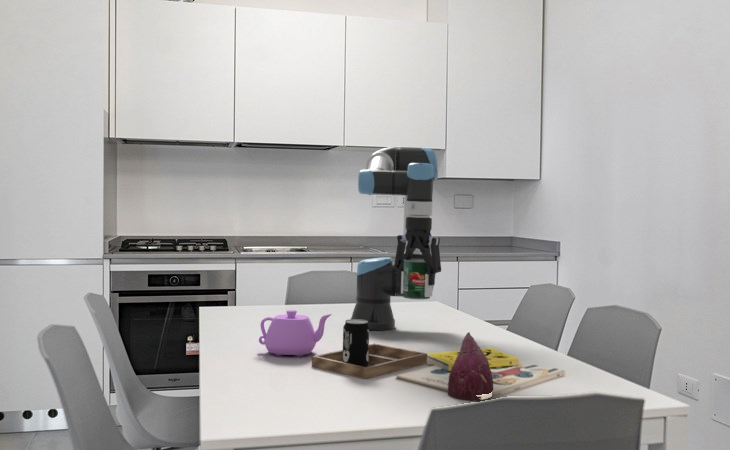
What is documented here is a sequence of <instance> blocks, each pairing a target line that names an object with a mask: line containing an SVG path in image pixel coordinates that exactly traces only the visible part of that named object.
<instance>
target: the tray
mask: <svg viewBox="0 0 730 450" xmlns="http://www.w3.org/2000/svg"><path fill="white" fill-rule="evenodd" d="M375 354H377V355H375ZM380 355H381V356H380ZM342 356H343V349H341V350H337V351H331V352H326V353H321V354H316V355H311V367H314V368H319V369H322V370H327V371H330V372H334V373H339V374H343V375H348V376H351V377H356V378H360V379H364V380H368V379H370V378H371V379H372V378H374V377H379V376H383V375H385V374H390V373H394V372H397V371H403V370H405V369H409V368H413V367H418V366H421V365H426V364H428V353H425V352H420V351H416V350H410V349H405V348H400V347H394V346H390V345H384V344H380V343H371V344H370V343H369V358H368V367H363V366H358V365H354V364H349V363H345V362H342ZM389 357H391V358H389Z"/></svg>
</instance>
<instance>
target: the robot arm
mask: <svg viewBox="0 0 730 450" xmlns="http://www.w3.org/2000/svg"><path fill="white" fill-rule="evenodd" d="M436 154H437V153H436V152H435V150H434V149H433V148H430V147H423V146H421V147H409V146H408V147H405V146H404V147H403V146H400V147H399V146H390V147H384V148H381V149H379V150H376V151H374V152H373V153H372V154H370V155H369V156H368V158H367V160H366V164H365V168H366V169H361V170H359V172H358V180H357V182H358V183H357V184H358V185H357V188H358V193H359V194H360V195H368V196H371V195H376V196H377V195H378V196H379V195H381V196H382V195H383V196H403V197H404V198H403V199H404V203H403V205H404V206H403V234H398V235H397V237H396V238H397V247H396V253H395V258H394V261H393V259H392V257H390V256H388V257H374V258H373V257H372V258H368V259H367V258H366V259H362V260H360V261H359V262H358V263H357V266H356V267H357V269H356V273H355V274H356V294H355V306H354V309H353V312H352V314H351V317H350V319H361V320H366V321H368V325H369V331H385V330H386V331H387V330H393V329H395V328H396V320H395V318H394V314H393V313H394V312H393V309H392V306H391V297H399V298H400V297H401V298H404V297H403V279H404V277H403V276H404V259H405V260H411V259H424V261H426V262H425V265H426V269H427V272H428V273H426V274H425V297H430V298H431V297H433V291H434V286H435V284H436V281H435V280H436V274H437V273H442V265H441V253H440V241H441V238H440V237H435V236H432V233H431V231H432V229H433V227H432V226H433V225H432V223H433V220H432V215H433V191H434V182H436V181H437V180H438V178H439V177H438V176H439V174H438V161H437V160H438V159H437V155H436ZM429 244H430V245H429Z"/></svg>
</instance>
